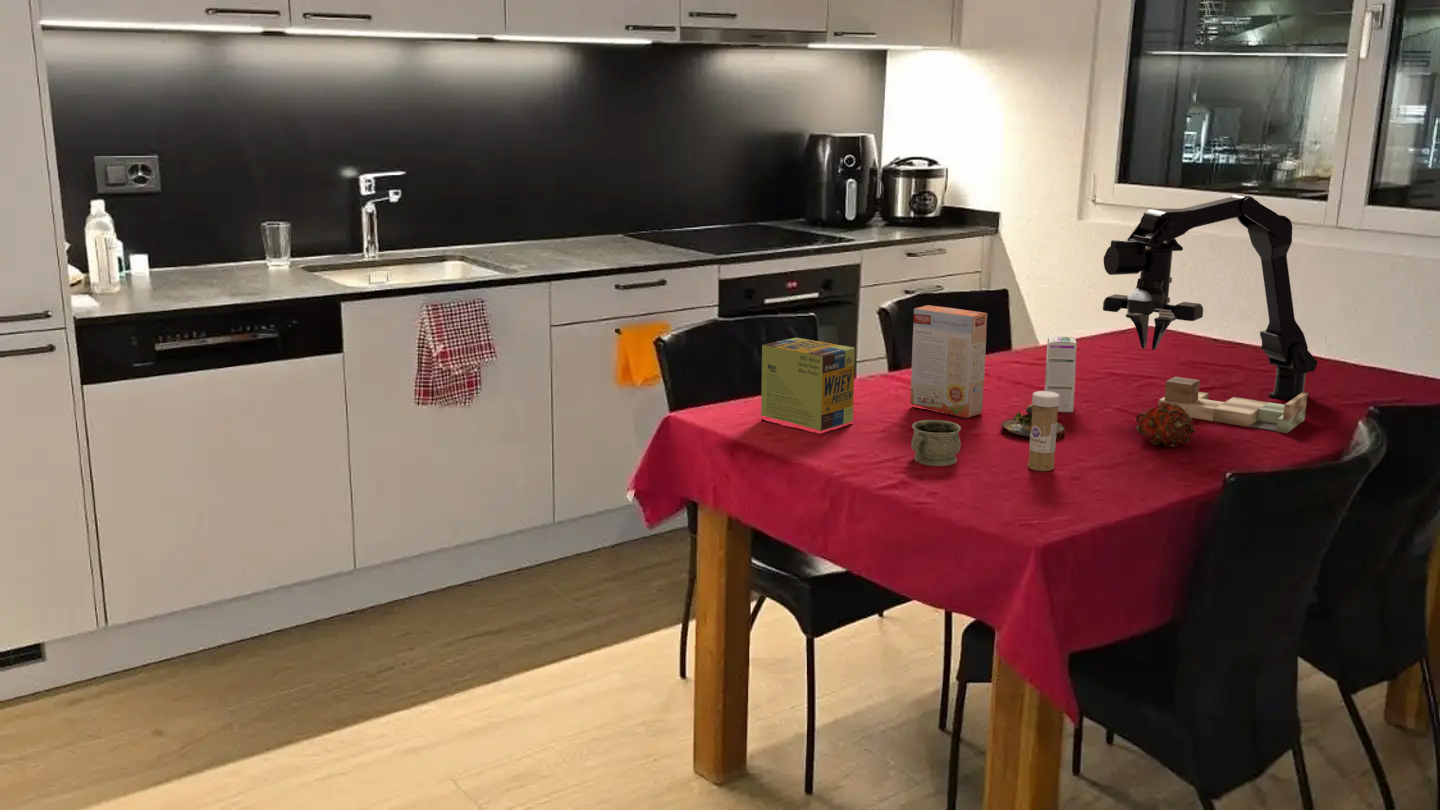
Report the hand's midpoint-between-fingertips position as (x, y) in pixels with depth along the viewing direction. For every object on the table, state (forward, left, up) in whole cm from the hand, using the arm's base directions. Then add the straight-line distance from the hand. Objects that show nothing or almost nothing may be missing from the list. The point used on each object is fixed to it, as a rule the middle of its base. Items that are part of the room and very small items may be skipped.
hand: (1148, 349), depth 262 cm
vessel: (+60, -15, -12) cm, 63 cm away
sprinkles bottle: (+53, +2, -12) cm, 54 cm away
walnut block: (0, +8, -10) cm, 12 cm away
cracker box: (+29, -30, -12) cm, 44 cm away
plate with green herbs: (+33, -9, -13) cm, 36 cm away
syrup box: (+13, -13, -12) cm, 22 cm away
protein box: (+54, -47, -12) cm, 73 cm away
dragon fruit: (+25, +13, -12) cm, 31 cm away
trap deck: (-3, +17, -12) cm, 21 cm away
